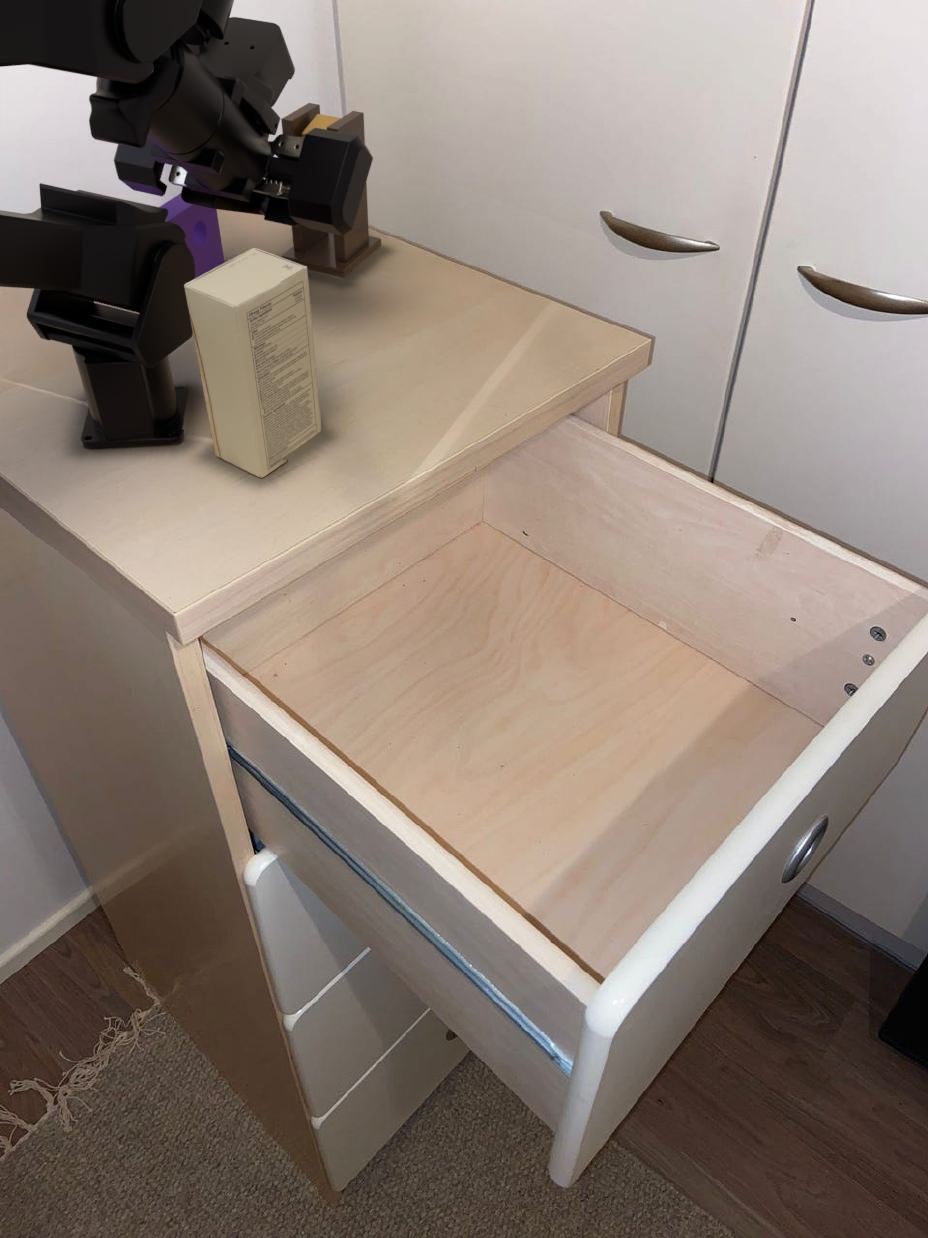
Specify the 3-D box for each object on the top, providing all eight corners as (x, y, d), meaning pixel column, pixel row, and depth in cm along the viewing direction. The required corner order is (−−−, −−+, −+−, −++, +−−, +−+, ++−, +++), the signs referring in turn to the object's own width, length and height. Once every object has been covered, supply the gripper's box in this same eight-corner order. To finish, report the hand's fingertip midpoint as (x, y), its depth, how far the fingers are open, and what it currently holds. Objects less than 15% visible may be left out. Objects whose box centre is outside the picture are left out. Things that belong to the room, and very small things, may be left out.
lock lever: (289, 233, 75) (280, 196, 72) (253, 225, 76) (243, 188, 73) (353, 151, 80) (346, 113, 77) (318, 144, 81) (311, 107, 78)
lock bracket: (344, 283, 82) (335, 135, 74) (282, 269, 84) (266, 122, 76) (381, 251, 87) (376, 108, 79) (322, 238, 89) (311, 96, 80)
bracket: (226, 272, 83) (213, 190, 78) (181, 307, 79) (165, 222, 74) (106, 246, 86) (87, 166, 81) (57, 279, 81) (33, 195, 77)
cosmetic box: (276, 415, 68) (255, 244, 59) (325, 437, 66) (311, 264, 58) (211, 458, 64) (178, 282, 56) (262, 482, 62) (236, 304, 54)
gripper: (350, 2, 59) (428, 132, 74) (97, -35, 64) (219, 94, 79) (298, 183, 60) (386, 275, 75) (52, 133, 65) (181, 229, 80)
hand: (291, 213), depth 77 cm, fingers closed on lock lever, 3 cm apart
